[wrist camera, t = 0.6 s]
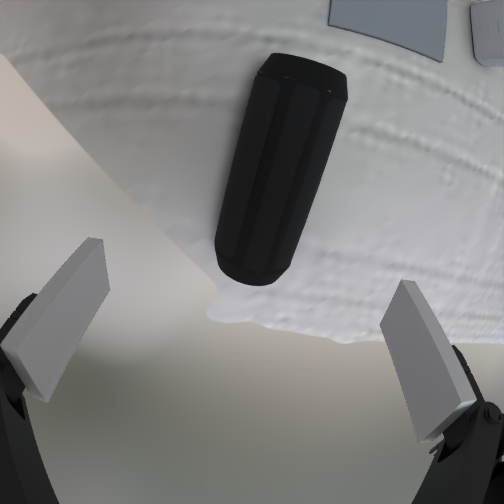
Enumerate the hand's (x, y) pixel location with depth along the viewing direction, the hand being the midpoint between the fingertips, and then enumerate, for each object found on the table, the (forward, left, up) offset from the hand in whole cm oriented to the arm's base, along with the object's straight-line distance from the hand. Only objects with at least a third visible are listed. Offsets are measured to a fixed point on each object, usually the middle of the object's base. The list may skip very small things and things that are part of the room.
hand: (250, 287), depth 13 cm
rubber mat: (-26, +14, -28) cm, 40 cm away
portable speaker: (+1, +2, -28) cm, 28 cm away
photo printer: (-26, +29, -28) cm, 48 cm away
